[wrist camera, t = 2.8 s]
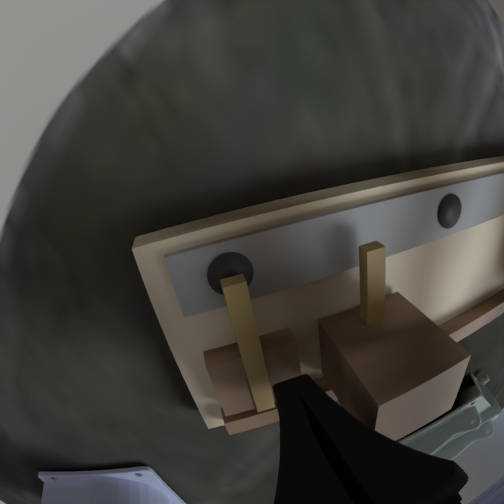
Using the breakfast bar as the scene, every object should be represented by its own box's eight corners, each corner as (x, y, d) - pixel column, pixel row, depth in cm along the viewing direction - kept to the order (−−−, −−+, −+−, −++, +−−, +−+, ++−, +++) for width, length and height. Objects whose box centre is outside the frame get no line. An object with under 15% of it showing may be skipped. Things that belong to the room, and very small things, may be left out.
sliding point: (321, 373, 14) (370, 453, 10) (310, 250, 12) (387, 327, 7) (393, 344, 15) (451, 408, 10) (399, 225, 12) (489, 277, 8)
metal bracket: (495, 403, 15) (513, 427, 21) (464, 340, 19) (495, 385, 25) (327, 485, 20) (402, 487, 26) (318, 427, 25) (392, 446, 31)
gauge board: (205, 411, 16) (215, 466, 12) (135, 236, 11) (122, 281, 8) (503, 288, 19) (536, 311, 15) (518, 153, 14) (561, 166, 11)
